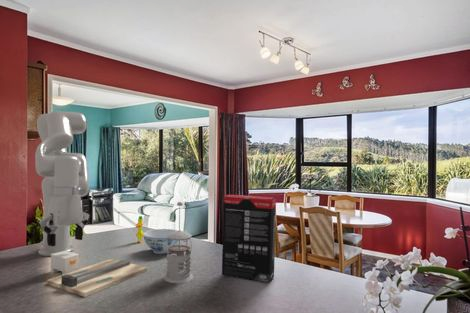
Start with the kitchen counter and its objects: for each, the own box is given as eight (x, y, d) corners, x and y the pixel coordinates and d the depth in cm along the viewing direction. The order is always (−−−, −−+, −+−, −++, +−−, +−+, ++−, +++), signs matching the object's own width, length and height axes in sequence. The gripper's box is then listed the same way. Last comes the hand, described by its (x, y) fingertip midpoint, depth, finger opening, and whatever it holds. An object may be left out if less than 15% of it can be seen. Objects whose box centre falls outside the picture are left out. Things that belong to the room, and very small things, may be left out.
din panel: (47, 283, 98) (47, 272, 98) (111, 261, 119) (111, 252, 119) (85, 297, 89) (85, 284, 89) (146, 270, 110) (146, 260, 110)
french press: (157, 280, 102) (158, 202, 102) (176, 268, 113) (177, 198, 113) (183, 285, 98) (185, 204, 99) (201, 272, 109) (202, 200, 109)
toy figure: (140, 244, 142) (140, 218, 143) (132, 244, 143) (132, 217, 143) (145, 240, 149) (146, 215, 149) (138, 240, 150) (138, 215, 150)
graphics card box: (275, 277, 106) (277, 196, 106) (271, 285, 100) (272, 198, 100) (227, 270, 112) (229, 193, 112) (220, 277, 105) (222, 195, 105)
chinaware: (187, 250, 135) (187, 232, 135) (161, 259, 123) (161, 239, 123) (162, 244, 143) (162, 227, 143) (135, 252, 131) (135, 234, 131)
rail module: (50, 272, 108) (50, 254, 108) (64, 267, 112) (64, 250, 112) (66, 277, 104) (66, 258, 104) (80, 272, 108) (80, 254, 108)
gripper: (82, 189, 117) (81, 236, 117) (33, 193, 102) (32, 247, 102) (95, 190, 114) (95, 238, 113) (47, 194, 99) (46, 249, 98)
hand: (65, 242), depth 107 cm, fingers open, 9 cm apart
